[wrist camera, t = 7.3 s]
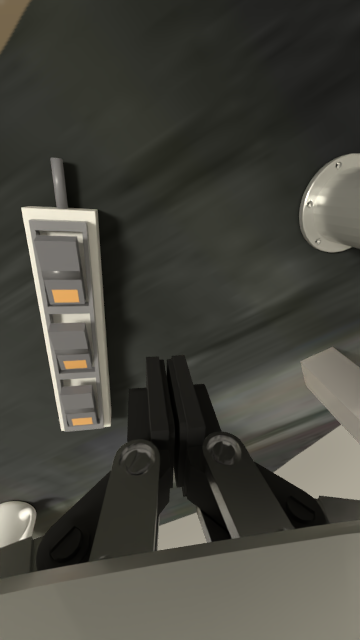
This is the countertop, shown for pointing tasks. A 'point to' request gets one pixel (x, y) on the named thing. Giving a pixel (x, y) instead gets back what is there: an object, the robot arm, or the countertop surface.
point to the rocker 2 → (71, 345)
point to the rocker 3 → (79, 405)
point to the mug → (16, 522)
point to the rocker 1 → (61, 268)
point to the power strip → (91, 312)
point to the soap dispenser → (335, 386)
